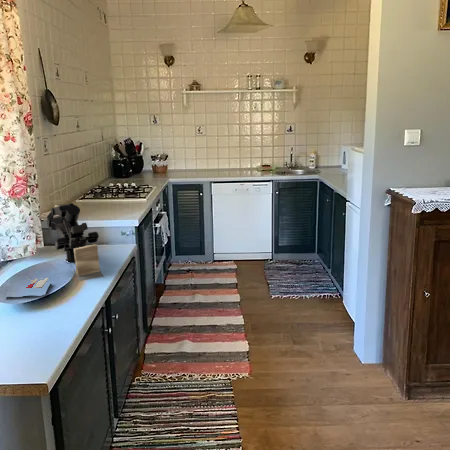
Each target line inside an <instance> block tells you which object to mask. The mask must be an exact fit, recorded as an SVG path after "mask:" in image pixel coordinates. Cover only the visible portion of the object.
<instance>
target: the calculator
mask: <svg viewBox="0 0 450 450" xmlns="http://www.w3.org/2000/svg"><path fill="white" fill-rule="evenodd" d="M44 278H45V279H44V280H40V281H38V282H37V280H38V279H39V278H34V279H35V280H31V281H32V282H31V281H30V282H31V283H33V284H30V285H28V287H26V288H32V287H33V285H34V284H35V283H36V282H37V283H36V286H34V287H33V288H42V287H43V286H44V284H45V283H46V282H47V280H48V279H49V278H50V277H44Z"/></svg>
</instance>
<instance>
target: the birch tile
mask: <svg viewBox="0 0 450 450" xmlns="http://www.w3.org/2000/svg"><path fill="white" fill-rule="evenodd" d="M74 256H75V262H74V263H75V269H76V272H77V275H78V276H82V275H86V274H91V273H95V272H99V271H101V269H100V259H99V250H98V245H97V244H90V245H85V246H84V247H79V248H74Z"/></svg>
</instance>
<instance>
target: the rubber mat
mask: <svg viewBox="0 0 450 450" xmlns="http://www.w3.org/2000/svg"><path fill="white" fill-rule="evenodd" d="M75 275H76V277H77V279H78V281H79V282H83V281H88V280H92V279H97V278H103V277H105V276H104V274H103V273H102V270H100V271H99V272H95V273H91V274H86V275H82V276H78V275H77V272H76V273H75Z"/></svg>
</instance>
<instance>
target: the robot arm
mask: <svg viewBox="0 0 450 450" xmlns="http://www.w3.org/2000/svg"><path fill="white" fill-rule="evenodd" d="M80 212H81V209H80V207H79V206H78V205H75V204H74V203H73V202H71V203H66V204H60V205H58V206H54V207H51V208H50V212H49V213H48V215H47V216H46V225H47V228H49V230H51V231H56V232H57V233H58V235H60V237H58V238H56V239H55V243H54V246H55V250H56V251H59V250H62V251H63V252H65V255H66V258H65V261H68V262H70V263H69V264H71V263H75V256H74V248H79V247H84V246H87V243H89V244H93V243H97V242H98V239H99V236H100V235H99V233H98V232H97V231H91V232H88V235H86V236H84V235H85V233H84V232H85V231H87V230H88V229H89V228H88V225H87V222H82V223H81V224H79V222H78V220H79V218H80V217H79V216H80Z"/></svg>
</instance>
